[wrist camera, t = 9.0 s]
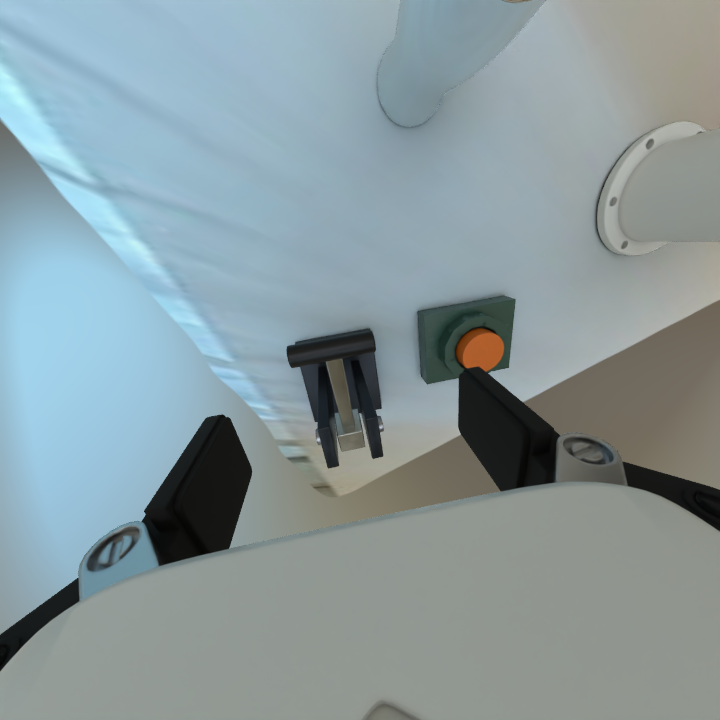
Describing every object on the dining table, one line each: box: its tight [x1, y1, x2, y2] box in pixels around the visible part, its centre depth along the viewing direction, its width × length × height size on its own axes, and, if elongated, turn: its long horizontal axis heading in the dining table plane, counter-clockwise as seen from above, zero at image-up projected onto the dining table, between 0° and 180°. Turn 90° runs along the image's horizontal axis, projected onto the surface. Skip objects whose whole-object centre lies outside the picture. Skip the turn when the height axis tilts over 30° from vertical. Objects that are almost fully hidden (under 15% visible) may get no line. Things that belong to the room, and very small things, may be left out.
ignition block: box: [418, 296, 515, 384], centre depth 33 cm, size 11×9×4 cm
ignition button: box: [456, 328, 504, 372], centre depth 30 cm, size 5×5×2 cm
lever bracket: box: [295, 329, 384, 468], centre depth 29 cm, size 11×9×13 cm
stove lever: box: [287, 331, 376, 452], centre depth 21 cm, size 12×6×2 cm, turn 8°
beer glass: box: [377, 0, 546, 127], centre depth 17 cm, size 7×7×15 cm
